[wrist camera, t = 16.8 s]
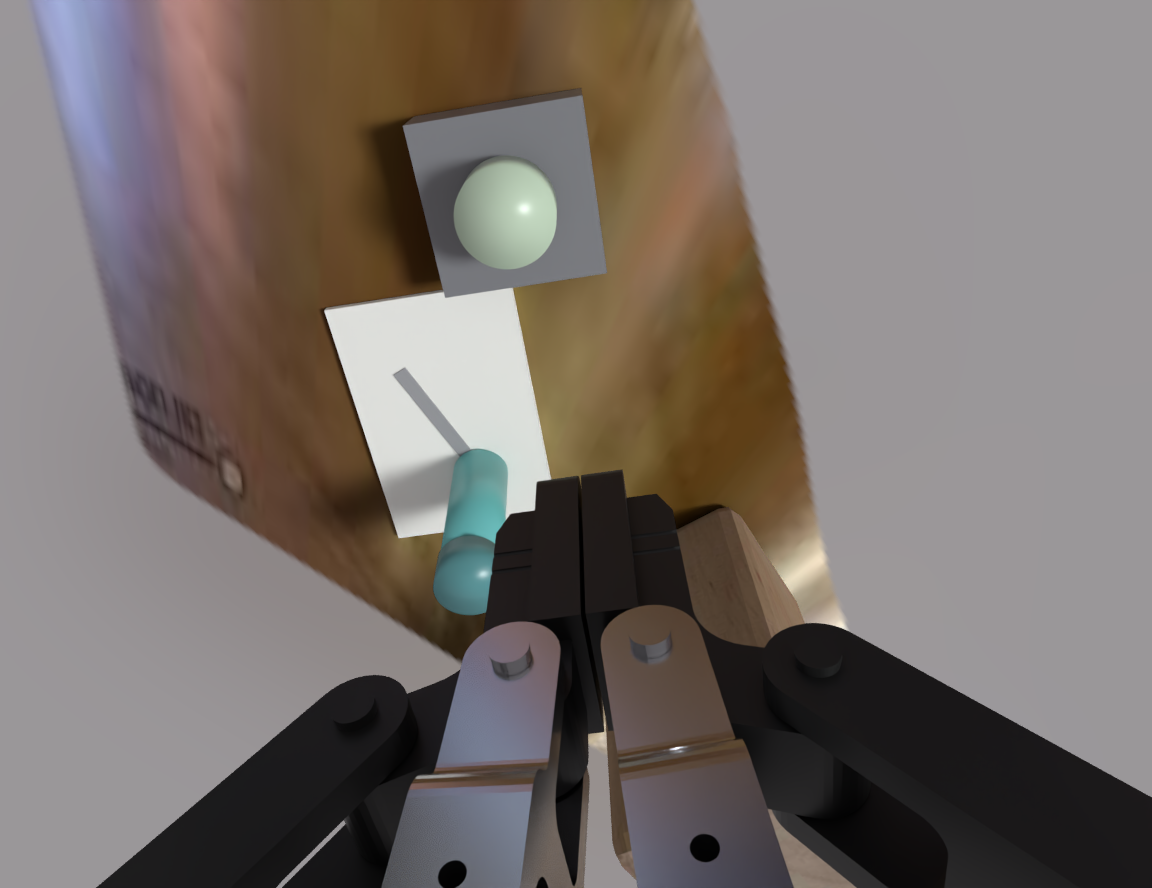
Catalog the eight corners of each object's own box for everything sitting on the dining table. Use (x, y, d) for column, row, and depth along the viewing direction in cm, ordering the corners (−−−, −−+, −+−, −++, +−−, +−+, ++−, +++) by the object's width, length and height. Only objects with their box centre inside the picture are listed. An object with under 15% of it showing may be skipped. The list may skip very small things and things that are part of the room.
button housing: (414, 116, 38) (402, 125, 35) (581, 87, 37) (582, 95, 34) (452, 278, 41) (445, 298, 39) (604, 255, 41) (606, 273, 38)
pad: (326, 307, 42) (323, 311, 42) (511, 279, 42) (510, 282, 41) (400, 534, 50) (398, 539, 49) (557, 513, 49) (557, 517, 48)
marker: (445, 452, 46) (425, 568, 38) (503, 444, 46) (496, 558, 37) (459, 499, 48) (442, 619, 39) (514, 491, 48) (510, 609, 39)
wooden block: (729, 495, 48) (822, 776, 31) (798, 601, 53) (913, 901, 35) (590, 566, 51) (604, 863, 34) (667, 661, 55) (714, 969, 38)
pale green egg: (458, 151, 38) (443, 174, 33) (549, 136, 38) (546, 157, 33) (478, 242, 40) (466, 276, 35) (564, 228, 40) (564, 261, 35)
